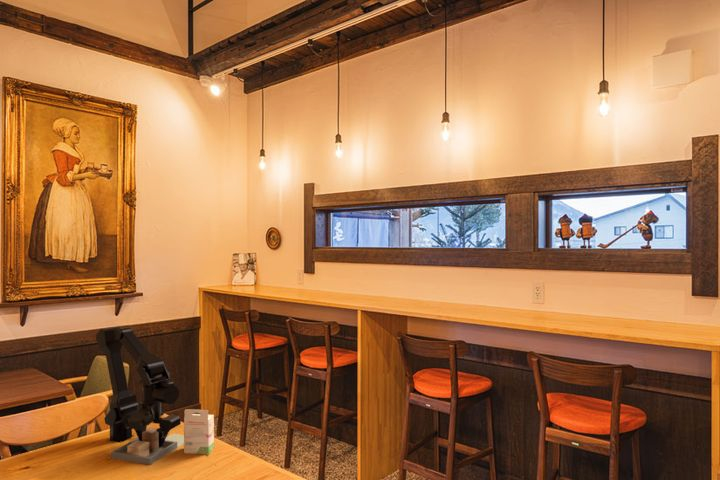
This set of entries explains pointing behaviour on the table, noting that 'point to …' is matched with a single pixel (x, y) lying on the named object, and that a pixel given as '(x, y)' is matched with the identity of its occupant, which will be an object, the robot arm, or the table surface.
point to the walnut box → (151, 438)
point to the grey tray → (150, 459)
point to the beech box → (138, 448)
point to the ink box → (198, 432)
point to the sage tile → (176, 439)
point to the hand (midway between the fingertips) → (151, 445)
